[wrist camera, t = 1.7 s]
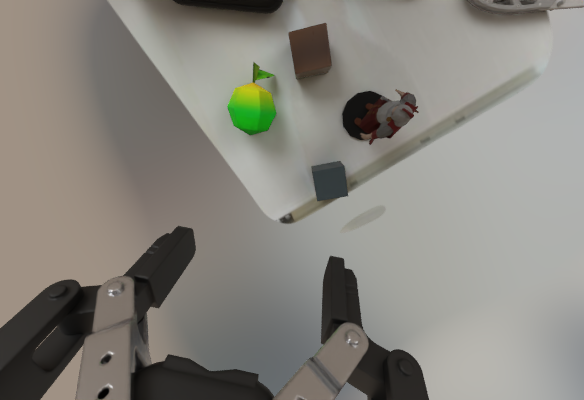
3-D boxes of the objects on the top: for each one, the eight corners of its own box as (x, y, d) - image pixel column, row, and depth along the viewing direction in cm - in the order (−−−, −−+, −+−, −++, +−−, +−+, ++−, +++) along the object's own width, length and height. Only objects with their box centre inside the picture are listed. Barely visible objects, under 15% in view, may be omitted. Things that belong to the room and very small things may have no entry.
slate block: (311, 166, 36) (312, 171, 32) (339, 160, 36) (344, 165, 32) (315, 193, 38) (317, 201, 34) (343, 188, 37) (348, 196, 33)
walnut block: (290, 42, 31) (288, 32, 27) (323, 34, 30) (326, 22, 27) (296, 79, 32) (295, 74, 28) (328, 72, 32) (331, 65, 28)
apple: (244, 138, 28) (247, 53, 25) (217, 132, 32) (217, 57, 29) (285, 138, 33) (292, 67, 30) (258, 133, 37) (261, 69, 34)
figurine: (363, 80, 32) (411, 50, 18) (401, 113, 33) (476, 108, 19) (332, 121, 34) (354, 124, 20) (370, 151, 35) (415, 173, 21)
